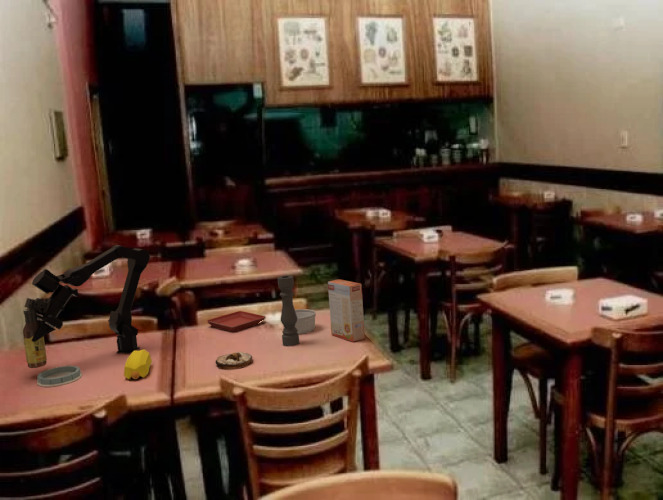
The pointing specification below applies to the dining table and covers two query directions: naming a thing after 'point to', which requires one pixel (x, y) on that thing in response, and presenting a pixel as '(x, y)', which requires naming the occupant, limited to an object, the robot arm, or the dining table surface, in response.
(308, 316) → the ramekin
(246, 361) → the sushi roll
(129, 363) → the yellow faceted rock
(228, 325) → the plant saucer
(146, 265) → the robot arm
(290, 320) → the candle holder
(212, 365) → the dining table surface
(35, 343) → the sauce bottle
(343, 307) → the cracker box
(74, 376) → the ring collar
